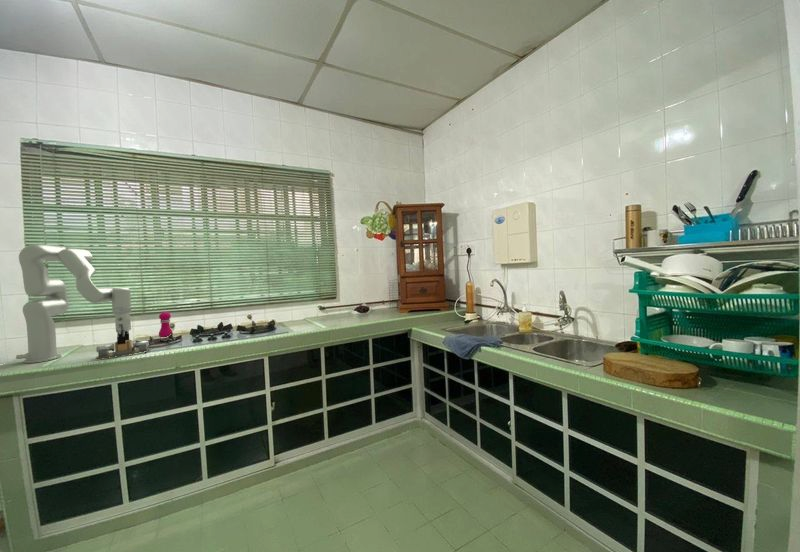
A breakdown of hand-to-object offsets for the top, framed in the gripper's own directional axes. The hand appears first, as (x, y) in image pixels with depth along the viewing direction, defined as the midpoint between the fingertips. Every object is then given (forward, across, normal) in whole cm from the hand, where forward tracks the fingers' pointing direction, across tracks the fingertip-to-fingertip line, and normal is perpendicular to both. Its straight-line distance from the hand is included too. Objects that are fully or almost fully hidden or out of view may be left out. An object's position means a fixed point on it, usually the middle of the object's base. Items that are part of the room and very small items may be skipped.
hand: (123, 342), depth 164 cm
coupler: (+5, 0, 0) cm, 5 cm away
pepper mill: (+7, +28, -16) cm, 33 cm away
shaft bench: (+7, 0, 0) cm, 7 cm away
